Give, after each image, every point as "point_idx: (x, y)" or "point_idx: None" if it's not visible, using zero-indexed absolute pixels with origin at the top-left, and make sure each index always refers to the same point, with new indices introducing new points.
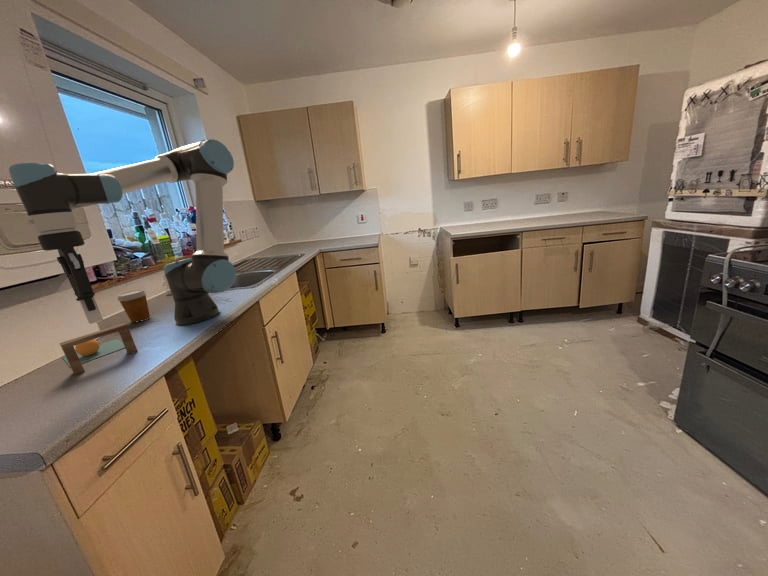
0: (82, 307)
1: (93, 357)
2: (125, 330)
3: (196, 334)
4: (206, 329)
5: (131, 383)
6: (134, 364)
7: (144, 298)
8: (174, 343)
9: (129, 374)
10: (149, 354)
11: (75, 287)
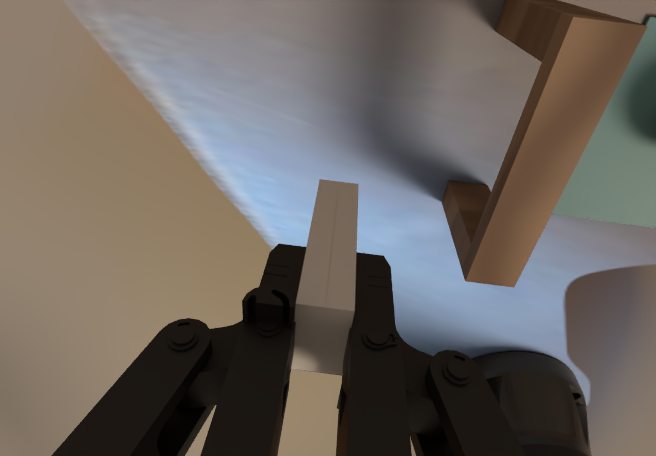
0: (338, 256)
1: (625, 110)
2: (464, 253)
3: None
4: None
5: (141, 70)
6: (317, 145)
7: None
8: None
9: (236, 99)
10: None
11: (267, 445)
